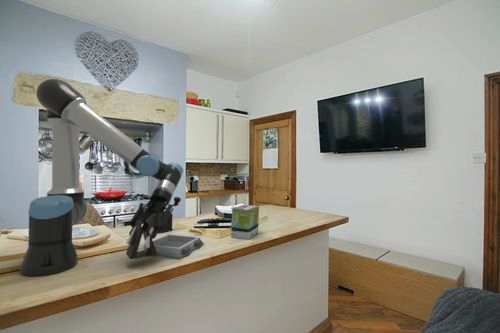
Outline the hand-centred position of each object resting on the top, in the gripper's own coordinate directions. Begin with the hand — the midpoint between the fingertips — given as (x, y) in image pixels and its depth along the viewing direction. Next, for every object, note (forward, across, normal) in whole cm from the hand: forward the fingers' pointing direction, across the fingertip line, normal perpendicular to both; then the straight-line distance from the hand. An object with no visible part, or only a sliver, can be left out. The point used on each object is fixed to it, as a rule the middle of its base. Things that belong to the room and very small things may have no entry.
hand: (137, 245), depth 89 cm
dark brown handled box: (-29, +17, -40) cm, 52 cm away
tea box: (-30, -28, -40) cm, 58 cm away
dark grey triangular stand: (+1, 0, -4) cm, 5 cm away
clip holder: (-9, -4, -19) cm, 21 cm away
